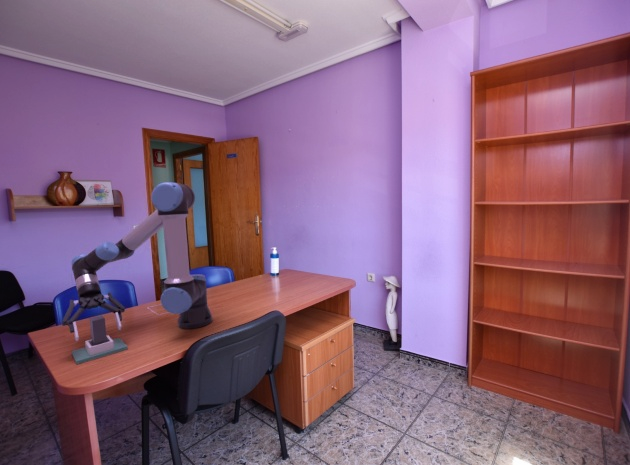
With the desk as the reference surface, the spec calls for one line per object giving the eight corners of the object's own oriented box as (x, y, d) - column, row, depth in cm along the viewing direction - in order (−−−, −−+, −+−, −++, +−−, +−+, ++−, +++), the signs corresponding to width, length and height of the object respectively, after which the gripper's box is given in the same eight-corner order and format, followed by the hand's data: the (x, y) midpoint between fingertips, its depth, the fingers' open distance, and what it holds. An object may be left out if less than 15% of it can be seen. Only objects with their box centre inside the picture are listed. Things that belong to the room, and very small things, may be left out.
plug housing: (104, 344, 125) (101, 315, 124) (107, 348, 121) (104, 318, 120) (92, 348, 122) (89, 318, 121) (95, 352, 118) (92, 321, 117)
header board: (119, 340, 131) (119, 330, 131) (127, 349, 123) (126, 338, 122) (72, 354, 120) (70, 343, 120) (76, 364, 112) (75, 353, 111)
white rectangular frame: (158, 314, 162) (146, 307, 175) (158, 315, 162) (146, 308, 175) (178, 309, 170) (166, 302, 182) (179, 310, 170) (166, 303, 183)
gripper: (122, 287, 140) (134, 328, 130) (48, 300, 122) (57, 349, 113) (124, 276, 135) (137, 319, 126) (48, 289, 118) (57, 338, 108)
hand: (99, 333), depth 119 cm, fingers open, 13 cm apart
